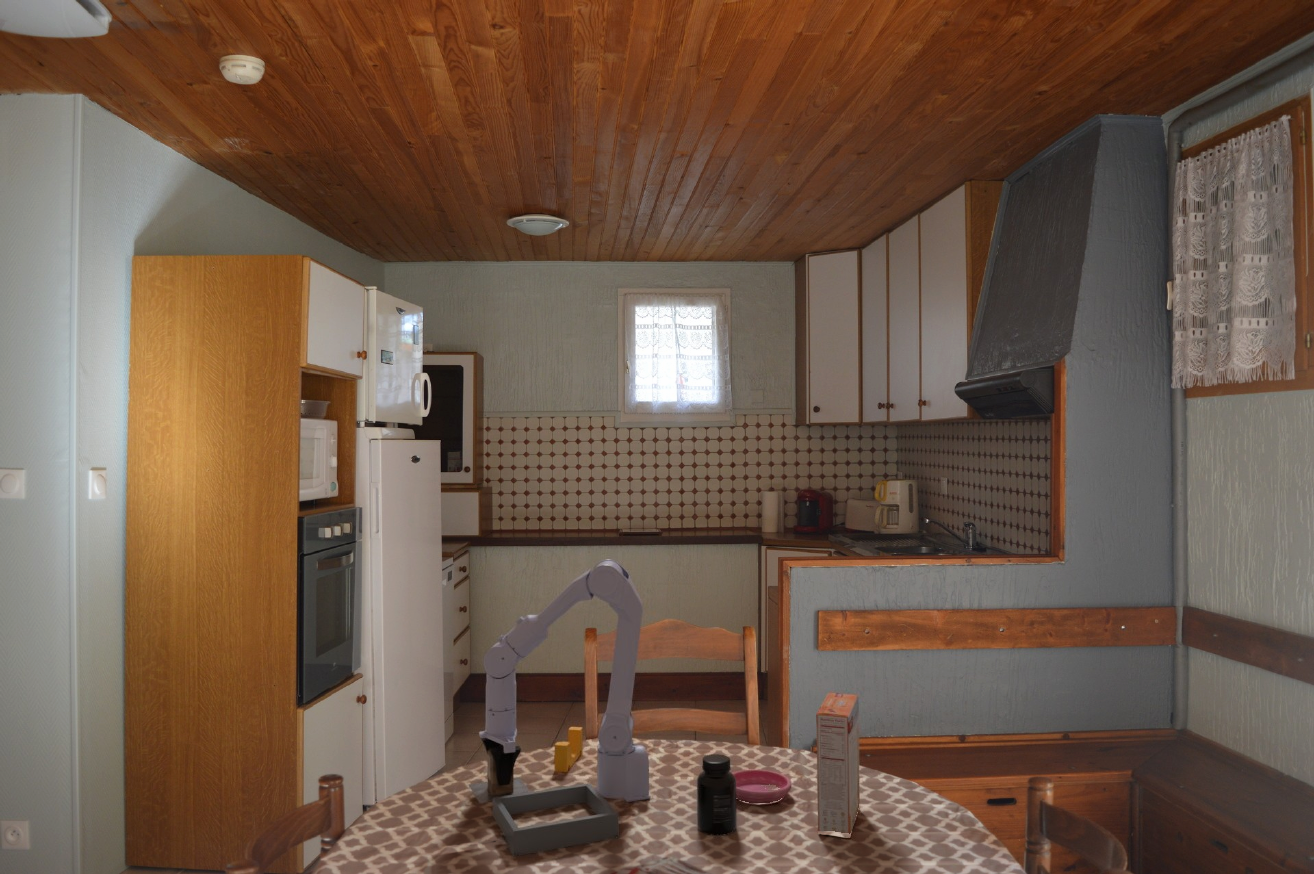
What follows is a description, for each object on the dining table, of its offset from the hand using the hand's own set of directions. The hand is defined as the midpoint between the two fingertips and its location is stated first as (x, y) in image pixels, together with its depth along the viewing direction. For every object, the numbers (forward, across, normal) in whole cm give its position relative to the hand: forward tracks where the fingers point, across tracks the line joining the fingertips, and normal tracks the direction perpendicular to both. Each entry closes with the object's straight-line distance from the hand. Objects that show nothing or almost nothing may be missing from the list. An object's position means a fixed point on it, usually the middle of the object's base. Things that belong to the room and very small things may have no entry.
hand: (500, 779), depth 167 cm
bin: (+3, +18, +5) cm, 19 cm away
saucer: (+3, +19, +45) cm, 49 cm away
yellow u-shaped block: (+3, -10, +16) cm, 19 cm away
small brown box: (+2, 0, 0) cm, 2 cm away
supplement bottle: (+3, +29, +31) cm, 43 cm away
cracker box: (+3, +35, +52) cm, 63 cm away
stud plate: (+3, 0, 0) cm, 3 cm away
